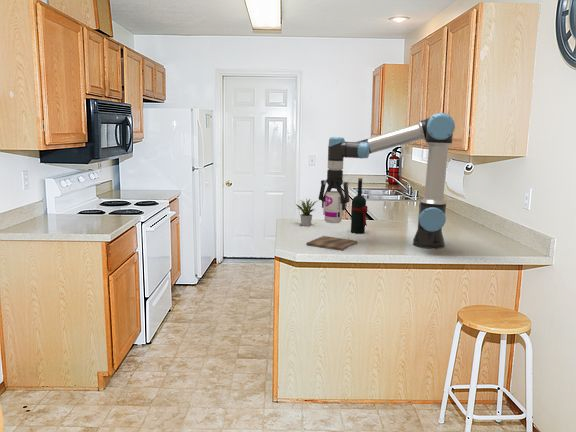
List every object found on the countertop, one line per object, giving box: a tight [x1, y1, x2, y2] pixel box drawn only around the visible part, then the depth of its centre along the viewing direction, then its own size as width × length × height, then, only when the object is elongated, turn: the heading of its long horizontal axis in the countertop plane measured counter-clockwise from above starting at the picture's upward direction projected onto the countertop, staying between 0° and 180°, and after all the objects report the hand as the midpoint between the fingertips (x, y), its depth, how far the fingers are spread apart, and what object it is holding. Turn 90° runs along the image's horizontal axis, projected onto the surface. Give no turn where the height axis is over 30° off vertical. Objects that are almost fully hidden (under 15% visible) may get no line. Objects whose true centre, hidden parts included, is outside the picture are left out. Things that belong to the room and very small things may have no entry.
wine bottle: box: [350, 177, 368, 235], centre depth 280 cm, size 8×10×30 cm
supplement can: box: [324, 190, 343, 224], centre depth 252 cm, size 8×8×15 cm
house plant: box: [294, 198, 318, 227], centre depth 299 cm, size 14×14×16 cm
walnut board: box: [306, 235, 358, 252], centre depth 255 cm, size 19×19×1 cm
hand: (333, 215), depth 252 cm, fingers closed on supplement can, 8 cm apart
